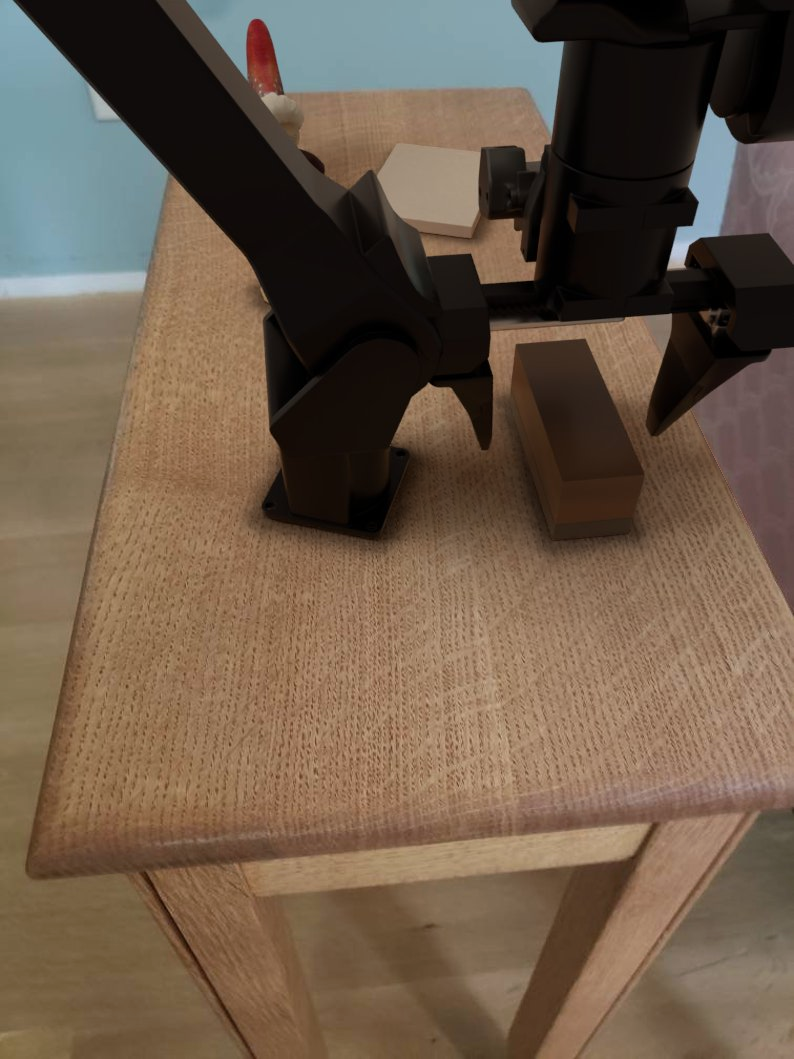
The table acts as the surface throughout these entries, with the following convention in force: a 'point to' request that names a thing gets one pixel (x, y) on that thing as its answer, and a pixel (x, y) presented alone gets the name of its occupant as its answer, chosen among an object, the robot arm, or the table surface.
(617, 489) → the tall brown wooden block
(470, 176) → the tile
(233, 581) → the table surface
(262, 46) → the red tapered piece
